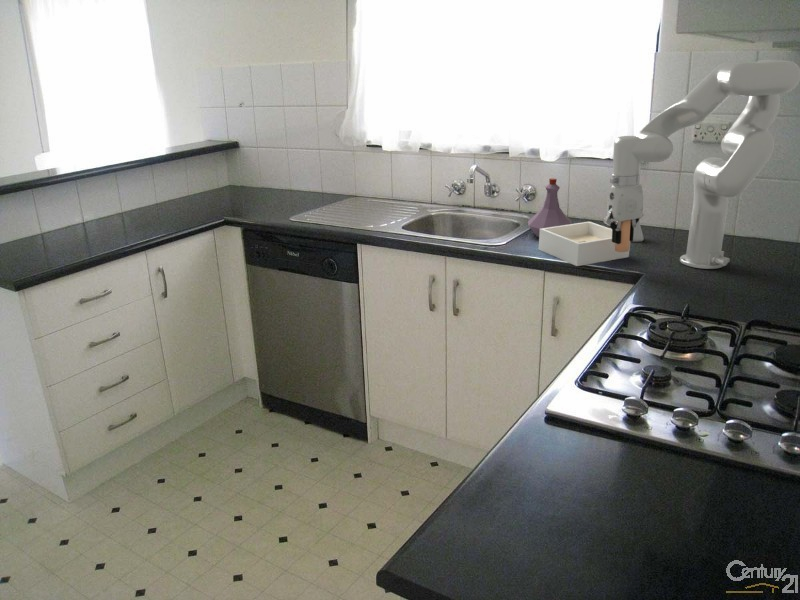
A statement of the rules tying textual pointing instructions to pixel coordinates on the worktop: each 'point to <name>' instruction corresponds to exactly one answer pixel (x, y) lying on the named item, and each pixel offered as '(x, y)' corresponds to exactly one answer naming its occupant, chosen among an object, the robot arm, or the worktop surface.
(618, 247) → the peg
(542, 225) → the flask
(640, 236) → the flask
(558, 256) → the box
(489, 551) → the worktop surface
